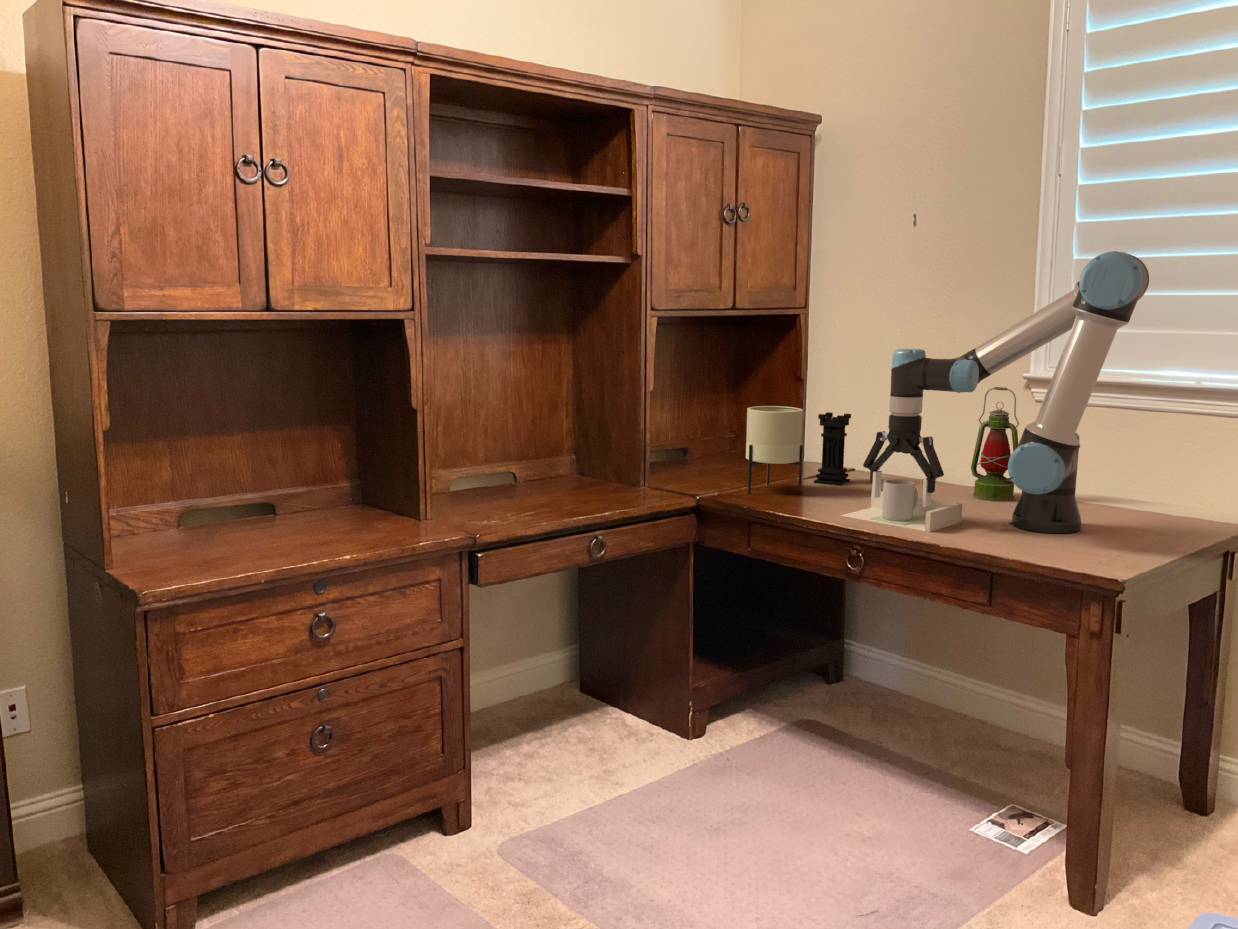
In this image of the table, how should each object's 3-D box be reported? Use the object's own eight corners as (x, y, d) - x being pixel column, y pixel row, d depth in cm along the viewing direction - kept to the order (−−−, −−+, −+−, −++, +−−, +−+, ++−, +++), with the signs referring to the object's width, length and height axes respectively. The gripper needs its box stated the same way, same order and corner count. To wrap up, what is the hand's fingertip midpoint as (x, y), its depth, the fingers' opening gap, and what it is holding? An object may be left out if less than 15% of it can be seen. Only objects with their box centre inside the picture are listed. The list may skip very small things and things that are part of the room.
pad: (929, 518, 248) (929, 516, 248) (903, 525, 240) (903, 524, 240) (896, 512, 255) (896, 511, 254) (870, 519, 246) (870, 518, 246)
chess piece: (849, 481, 300) (852, 413, 296) (840, 485, 293) (843, 416, 290) (824, 478, 304) (826, 412, 301) (813, 482, 297) (816, 414, 294)
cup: (875, 517, 247) (877, 480, 246) (903, 513, 253) (906, 477, 251) (898, 522, 241) (900, 485, 240) (927, 518, 247) (929, 482, 245)
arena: (961, 524, 244) (962, 503, 243) (929, 533, 234) (930, 512, 233) (873, 508, 261) (874, 489, 260) (840, 517, 251) (840, 497, 250)
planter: (791, 498, 273) (794, 413, 270) (736, 492, 281) (738, 409, 277) (810, 489, 286) (813, 408, 283) (757, 484, 294) (759, 404, 290)
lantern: (1027, 498, 276) (1035, 387, 271) (1010, 504, 268) (1018, 390, 264) (977, 491, 286) (984, 384, 281) (960, 496, 278) (967, 386, 273)
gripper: (962, 417, 237) (956, 507, 240) (868, 408, 254) (864, 492, 258) (946, 420, 232) (940, 511, 235) (851, 410, 249) (847, 496, 253)
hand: (900, 501), depth 247 cm, fingers open, 13 cm apart
